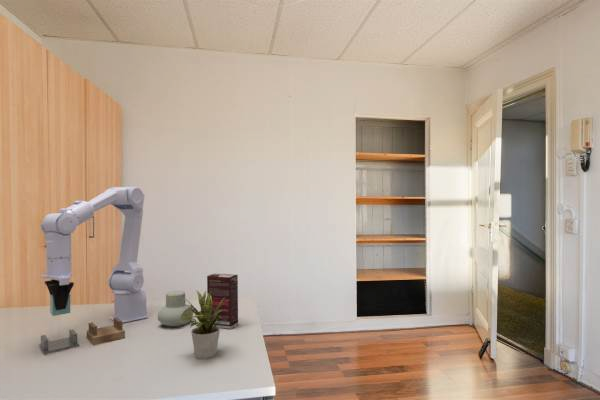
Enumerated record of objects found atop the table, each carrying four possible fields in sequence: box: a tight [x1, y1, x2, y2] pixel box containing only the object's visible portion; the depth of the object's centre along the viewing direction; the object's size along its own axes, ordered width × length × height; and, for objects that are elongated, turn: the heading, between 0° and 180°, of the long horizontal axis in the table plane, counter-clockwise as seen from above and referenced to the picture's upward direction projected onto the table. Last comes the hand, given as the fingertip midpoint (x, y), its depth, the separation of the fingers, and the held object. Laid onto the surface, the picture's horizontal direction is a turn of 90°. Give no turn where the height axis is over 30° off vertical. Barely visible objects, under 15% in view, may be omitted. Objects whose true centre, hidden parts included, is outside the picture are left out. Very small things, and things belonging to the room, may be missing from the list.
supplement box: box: [206, 272, 239, 330], centre depth 117 cm, size 9×5×16 cm, turn 71°
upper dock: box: [86, 317, 126, 346], centre depth 107 cm, size 8×8×4 cm
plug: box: [49, 293, 71, 317], centre depth 101 cm, size 4×4×6 cm
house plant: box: [177, 290, 228, 360], centre depth 95 cm, size 14×14×16 cm
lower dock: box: [38, 328, 80, 355], centre depth 101 cm, size 8×8×3 cm
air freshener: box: [157, 290, 194, 327], centre depth 119 cm, size 11×8×10 cm
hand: (59, 307), depth 101 cm, fingers closed on plug, 4 cm apart
